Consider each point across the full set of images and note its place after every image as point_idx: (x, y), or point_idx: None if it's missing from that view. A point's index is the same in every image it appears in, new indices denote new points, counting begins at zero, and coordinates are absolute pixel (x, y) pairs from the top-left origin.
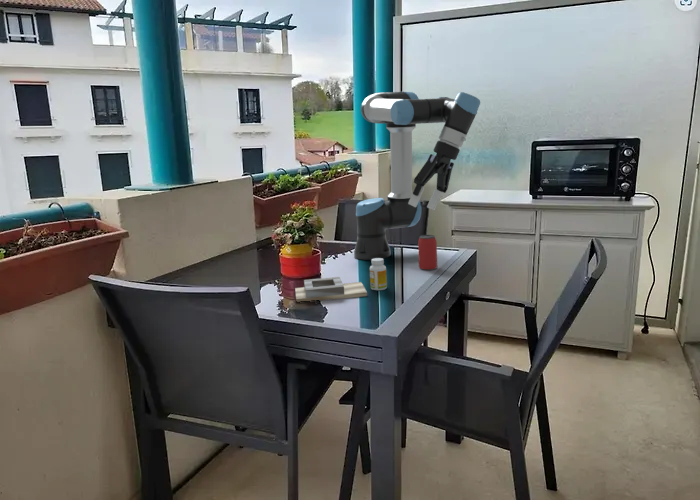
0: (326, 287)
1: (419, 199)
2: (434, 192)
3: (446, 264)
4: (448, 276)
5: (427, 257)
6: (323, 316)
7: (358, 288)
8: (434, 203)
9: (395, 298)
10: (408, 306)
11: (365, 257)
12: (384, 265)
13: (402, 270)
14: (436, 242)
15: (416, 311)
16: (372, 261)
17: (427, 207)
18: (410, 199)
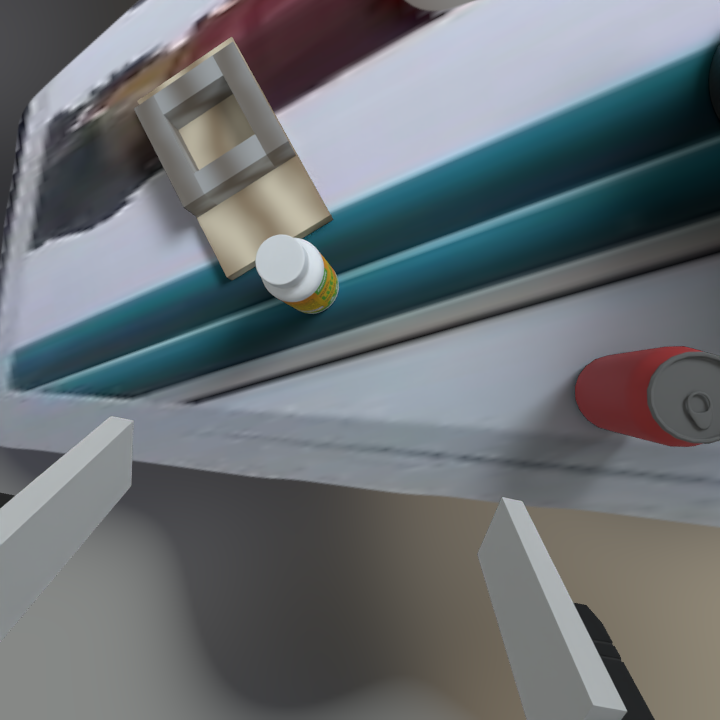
0: (167, 157)
1: (82, 541)
2: (564, 664)
3: (695, 458)
4: (498, 494)
5: (594, 401)
6: (64, 232)
7: (259, 235)
8: (499, 592)
9: (225, 370)
10: (166, 426)
11: (716, 73)
12: (300, 290)
13: (556, 298)
14: (683, 446)
15: (133, 457)
16: (261, 246)
17: (499, 504)
18: (81, 446)
